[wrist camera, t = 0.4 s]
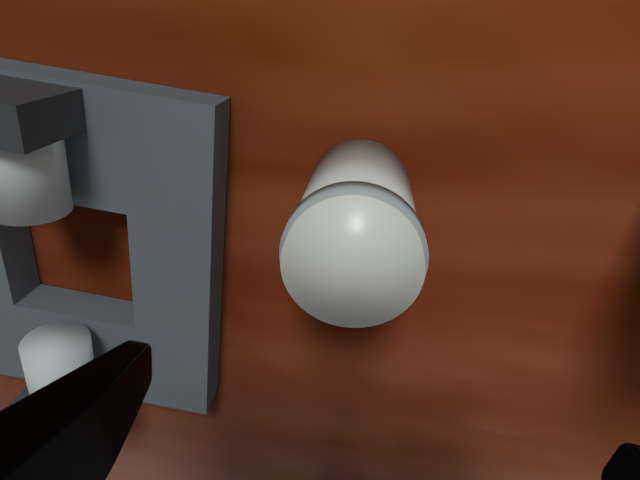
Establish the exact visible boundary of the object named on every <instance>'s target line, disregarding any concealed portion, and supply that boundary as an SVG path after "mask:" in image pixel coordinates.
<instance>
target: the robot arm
mask: <svg viewBox="0 0 640 480" xmlns="http://www.w3.org/2000/svg"><path fill="white" fill-rule="evenodd" d="M151 380H152V349H151V346H150V345H149V344H148V343H144V342H139V341H135V340H128V341H126V342H124V343H122V344H120V345H118V346H116V347H115V348H113V349H111V350H109V351H107V352H106V353H104V354H102V355H100V356H98V357H97V358H95V359H93V360H91V361H89V362H87V363H86V364H84V365H82V366H80V367H78V368H77V369H75V370H73V371H71V372H69V373H68V374H66V375H64V376H62V377H60V378H59V379H57V380H55V381H53V382H51V383H50V384H48V385H46V386H44V387H42V388H41V389H39V390H37V391H35V392H33V393H31V394H30V395H28V396H26V397H24V398H22V399H21V400H19V401H17V402H15V403H13V404H12V405H10V406H8V407H6V408H4V409H3V410H1V411H0V480H105V479H106V478H107V476H108V474H109V472H110V470H111V469H112V467H113V465H114V463H115V461H116V459H117V457H118V455H119V453H120V451H121V448H122V446H123V444H124V442H125V440H126V437H127V435H128V433H129V431H130V429H131V426H132V424H133V422H134V420H135V418H136V416H137V413H138V411H139V409H140V407H141V405H142V402H143V400H144V398H145V396H146V394H147V391H148V389H149V387H150V384H151ZM601 479H602V480H640V445H636V444H631V443H624V444H622V445H620V446H619V447H618V449H617V450H616V452H615V453H614V454H613V456H612V457H611V459H610V460H609V461H608V463H607V464H606V466H605V467H604V469H603V471H602V476H601Z"/></svg>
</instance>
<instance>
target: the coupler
mask: <svg viewBox="0 0 640 480" xmlns="http://www.w3.org/2000/svg"><path fill="white" fill-rule="evenodd" d="M279 258H280V268H281V275H282V279H283V282H284V284H285V287H286V289H287V291H288V292H289V294H290V296H291V297H292V298H293V300H294V301H295V302H296V303H297V304H298V305H299V306H300V307H301V308H302V309H303V310H304V311H306V312H307V313H308V314H310V315H312V316H313V317H315V318H317V319H319V320H321V321H323V322H326V323H328V324H331V325H335V326H340V327H347V328H364V327H371V326H376V325H379V324H382V323H385V322H387V321H390V320H392V319H393V318H395V317H397V316H399V315H400V314H401V313H403V312H404V311H405V310H406V309H407V308H408V307H409V306H410V305H411V304H412V303H413V302H414V301H415V299H416V298H417V296H418V294H419V293H420V291H421V288H422V286H423V283H424V279H425V276H426V273H427V269H428V262H429V253H428V245H427V241H426V236H425V232H424V228H423V225H422V223H421V221H420V219H419V217H418V215H417V214H416V210H415V205H414V200H413V195H412V190H411V185H410V180H409V175H408V172H407V169H406V167H405V165H404V163H403V162H402V160H401V159H400V158H399V156H398V155H397V154H396V153H395V152H394V151H392V150H391V149H390V148H388V147H386V146H385V145H383V144H380V143H378V142H375V141H371V140H363V139H358V140H349V141H346V142H342V143H340V144H338V145H336V146H334V147H332V148H331V149H329V150H328V151H327V152H326V153H325V154H324V155H323V156H322V157H321V158H320V159H319V161H318V162H317V164H316V166H315V168H314V170H313V173H312V175H311V178H310V180H309V182H308V185H307V187H306V190H305V192H304V195H303V197H302V200H301V202H300V203H299V204H298V205H297V207H296V208H295V210H294V211H293V212H292V214H291V216H290V218H289V220H288V222H287V225H286V227H285V229H284V232H283V235H282V237H281V242H280V247H279Z"/></svg>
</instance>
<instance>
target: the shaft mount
mask: <svg viewBox="0 0 640 480" xmlns="http://www.w3.org/2000/svg"><path fill="white" fill-rule="evenodd" d="M230 99H231V97H228V96H222V95H216V94H210V93H204V92H198V91H193V90H187V89H181V88H175V87H169V86H163V85H157V84H152V83H146V82H140V81H134V80H128V79H122V78H116V77H111V76H105V75H99V74H93V73H87V72H81V71H75V70H70V69H64V68H58V67H52V66H46V65H40V64H35V63H29V62H23V61H17V60H11V59H5V58H0V374H3V375H8V376H13V377H18V378H23V379H25V380H26V384H27V387H26V388H25V389H24V390H23V391H22V392H21V393H20V394H19V395H18V396H17V397H16V398H15V399H14V400H13V401H12V403H11V404H10V405H12V404H13V403H15V402H17V401H19V400H21V399H22V398H24V397H26V396H28V395H30V394H31V393H33V392H35V391H37V390H39V389H41V388H42V387H44V386H46V385H48V384H50V383H51V382H53V381H55V380H57V379H59V378H60V377H62V376H64V375H66V374H68V373H69V372H71V371H73V370H75V369H77V368H78V367H80V366H82V365H84V364H86V363H87V362H89V361H91V360H93V359H95V358H97V357H98V356H100V355H102V354H104V353H106V352H107V351H109V350H111V349H113V348H115V347H116V346H118V345H120V344H122V343H124V342H126V341H128V340H135V341H139V342H144V343H148V344H149V345H150V346H151V349H152V380H151V384H150V387H149V389H148V391H147V394H146V396H145V398H144V400H143V402H144V403H149V404H155V405H160V406H165V407H170V408H175V409H180V410H185V411H190V412H195V413H200V414H205V415H206V414H207V412H208V410H209V407H210V405H211V403H212V400H213V398H214V396H215V393H216V391H217V389H218V373H219V350H220V328H221V305H222V282H223V259H224V236H225V213H226V191H227V168H228V145H229V122H230ZM73 205H76V206H81V207H87V208H92V209H98V210H103V211H109V212H114V213H120V214H125V215H127V227H128V240H129V254H130V267H131V281H132V294H133V301H128V300H123V299H117V298H112V297H107V296H102V295H96V294H91V293H86V292H80V291H75V290H70V289H65V288H59V287H54V286H49V285H43V284H40V280H39V275H38V270H37V265H36V259H35V254H34V249H33V244H32V239H31V234H30V228H29V226H35V225H41V224H46V223H50V222H54V221H57V220H59V219H62V218H64V217H65V216H67V215H68V214H70V213H71V211H72V210H73ZM10 405H9V406H10Z"/></svg>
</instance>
